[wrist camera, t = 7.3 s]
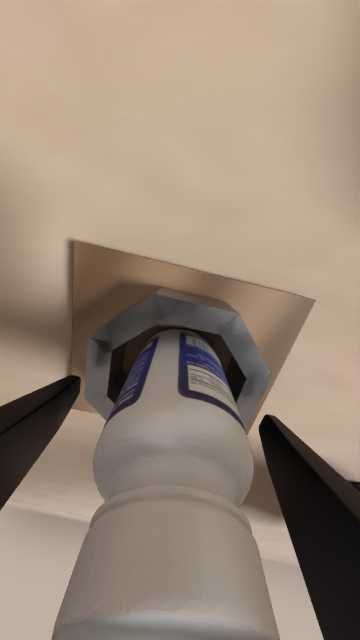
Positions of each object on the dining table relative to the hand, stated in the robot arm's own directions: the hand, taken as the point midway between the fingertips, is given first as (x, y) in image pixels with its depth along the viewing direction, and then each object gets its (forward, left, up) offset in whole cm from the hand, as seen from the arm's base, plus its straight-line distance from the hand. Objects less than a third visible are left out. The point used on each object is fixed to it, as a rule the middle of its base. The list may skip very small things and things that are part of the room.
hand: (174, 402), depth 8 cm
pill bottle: (0, 0, -4) cm, 4 cm away
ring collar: (0, 0, -4) cm, 4 cm away
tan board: (0, 0, -4) cm, 4 cm away
